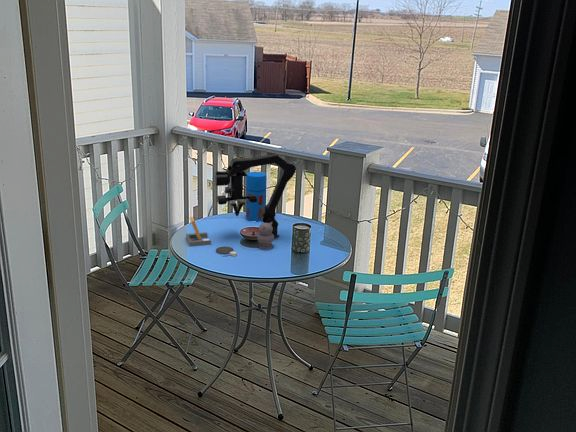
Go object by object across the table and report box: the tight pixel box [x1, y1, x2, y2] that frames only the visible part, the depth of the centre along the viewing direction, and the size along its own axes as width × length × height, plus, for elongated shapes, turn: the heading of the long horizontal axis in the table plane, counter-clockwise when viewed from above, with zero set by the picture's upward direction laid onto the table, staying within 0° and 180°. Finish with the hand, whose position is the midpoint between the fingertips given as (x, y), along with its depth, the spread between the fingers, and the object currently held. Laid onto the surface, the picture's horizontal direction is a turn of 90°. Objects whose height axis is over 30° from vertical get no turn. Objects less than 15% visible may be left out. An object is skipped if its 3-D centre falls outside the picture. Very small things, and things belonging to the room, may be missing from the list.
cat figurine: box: [256, 222, 275, 250], centre depth 263 cm, size 8×8×12 cm
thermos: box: [245, 171, 267, 223], centre depth 298 cm, size 11×11×25 cm
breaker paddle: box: [189, 216, 203, 240], centre depth 264 cm, size 2×6×11 cm, turn 17°
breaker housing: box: [185, 231, 212, 247], centre depth 266 cm, size 10×11×3 cm
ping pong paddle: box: [215, 245, 238, 258], centre depth 256 cm, size 10×8×2 cm
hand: (236, 215), depth 270 cm, fingers closed
